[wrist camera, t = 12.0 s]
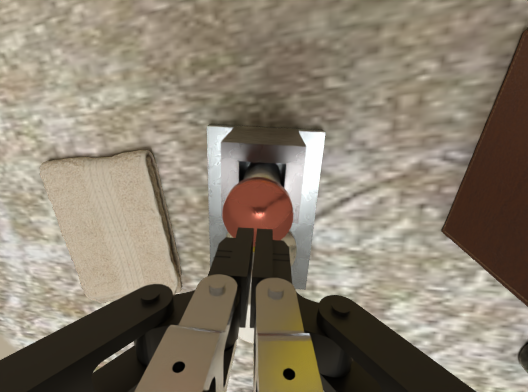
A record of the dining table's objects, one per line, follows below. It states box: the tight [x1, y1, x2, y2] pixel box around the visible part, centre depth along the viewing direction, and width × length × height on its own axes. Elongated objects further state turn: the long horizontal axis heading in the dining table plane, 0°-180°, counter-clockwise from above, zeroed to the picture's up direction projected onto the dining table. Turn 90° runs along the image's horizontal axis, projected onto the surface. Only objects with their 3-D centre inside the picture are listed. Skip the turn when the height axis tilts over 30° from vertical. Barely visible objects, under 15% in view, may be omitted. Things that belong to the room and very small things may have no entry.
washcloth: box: [40, 150, 181, 303], centre depth 31 cm, size 12×18×3 cm, turn 6°
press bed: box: [207, 124, 325, 290], centre depth 27 cm, size 18×11×8 cm, turn 177°
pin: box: [222, 162, 293, 247], centre depth 20 cm, size 4×4×8 cm
